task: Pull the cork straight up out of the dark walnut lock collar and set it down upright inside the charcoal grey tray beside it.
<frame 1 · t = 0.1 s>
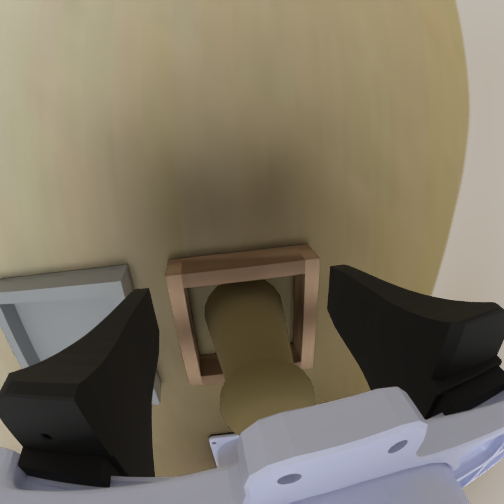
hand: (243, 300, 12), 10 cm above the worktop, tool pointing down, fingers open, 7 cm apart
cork: (243, 309, 25), resting in lock collar
tray: (78, 336, 23), on the worktop
lock collar: (243, 311, 25), on the worktop
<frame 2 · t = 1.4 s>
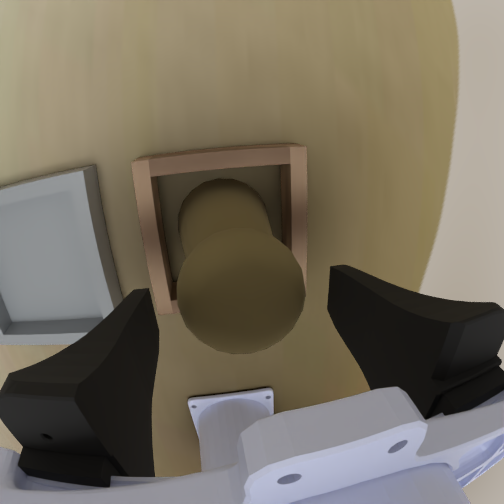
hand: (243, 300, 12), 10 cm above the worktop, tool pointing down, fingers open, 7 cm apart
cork: (222, 221, 22), resting in lock collar
tray: (40, 259, 20), on the worktop
lock collar: (223, 222, 21), on the worktop
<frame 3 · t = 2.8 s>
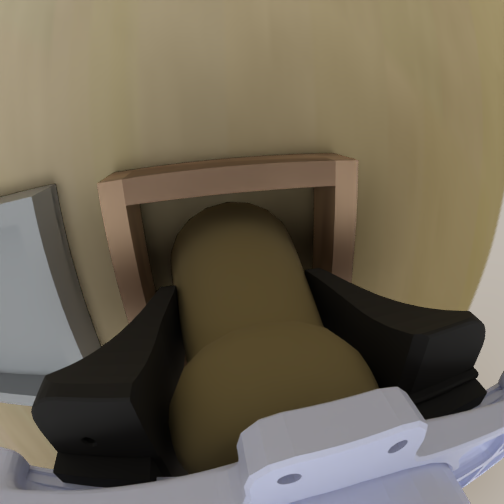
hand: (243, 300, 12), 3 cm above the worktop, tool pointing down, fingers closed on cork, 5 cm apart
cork: (233, 261, 16), resting in lock collar, touching gripper
tray: (0, 303, 14), on the worktop
lock collar: (233, 263, 15), on the worktop
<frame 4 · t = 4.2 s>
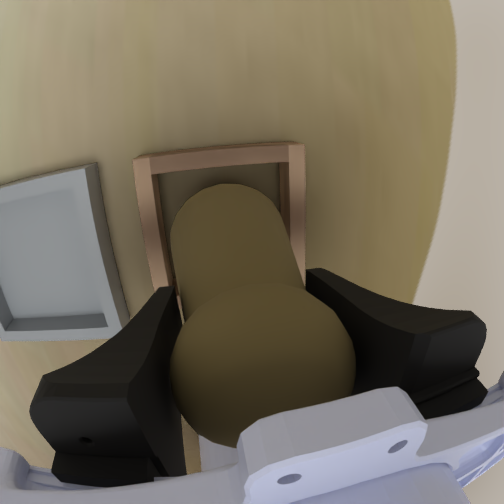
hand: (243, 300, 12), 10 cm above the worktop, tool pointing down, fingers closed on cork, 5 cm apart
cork: (227, 238, 17), point 5 cm above the worktop, touching gripper
tray: (42, 256, 20), on the worktop
lock collar: (222, 220, 22), on the worktop
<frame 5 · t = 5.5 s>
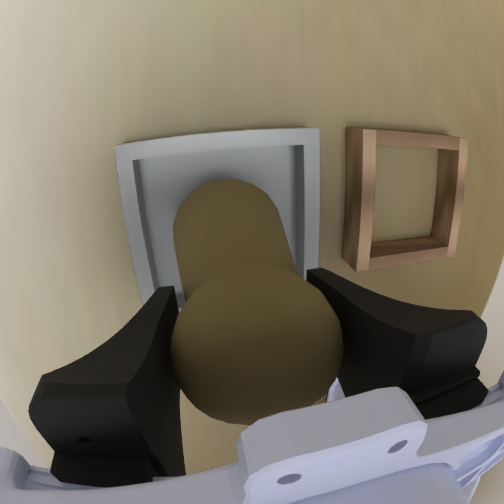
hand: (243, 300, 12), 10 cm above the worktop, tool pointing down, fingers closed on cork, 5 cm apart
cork: (227, 231, 18), point 4 cm above the worktop, touching gripper
tray: (222, 220, 22), on the worktop
lock collar: (400, 193, 23), on the worktop
when the fingers open (5 cm above the worktop, at t = 7.3 s): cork stays where it is, resting on tray.
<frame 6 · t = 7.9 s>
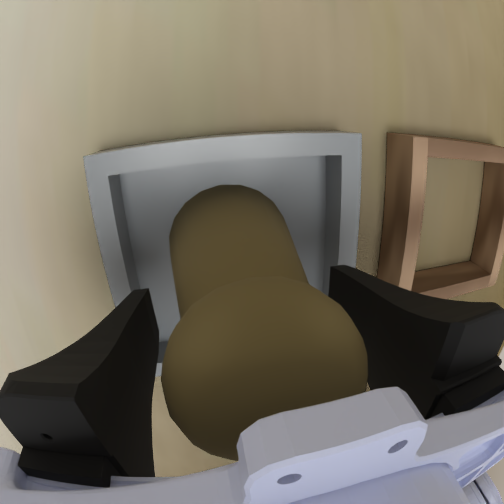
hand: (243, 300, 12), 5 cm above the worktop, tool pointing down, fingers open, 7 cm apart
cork: (228, 242, 16), resting on tray
tray: (230, 250, 17), on the worktop
lock collar: (443, 213, 18), on the worktop
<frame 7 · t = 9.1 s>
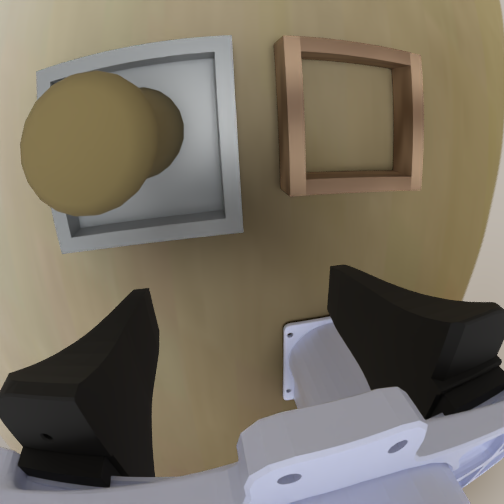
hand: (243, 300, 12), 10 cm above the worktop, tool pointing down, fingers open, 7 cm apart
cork: (137, 133, 18), resting on tray
tray: (140, 142, 19), on the worktop
lock collar: (347, 116, 20), on the worktop
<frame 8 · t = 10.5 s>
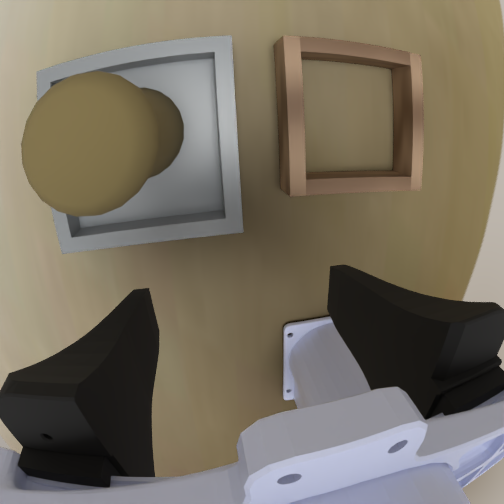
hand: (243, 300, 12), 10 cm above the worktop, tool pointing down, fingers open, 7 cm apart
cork: (137, 133, 18), resting on tray
tray: (140, 142, 19), on the worktop
lock collar: (346, 116, 20), on the worktop
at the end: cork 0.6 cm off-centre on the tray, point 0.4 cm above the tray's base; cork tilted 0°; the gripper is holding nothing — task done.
